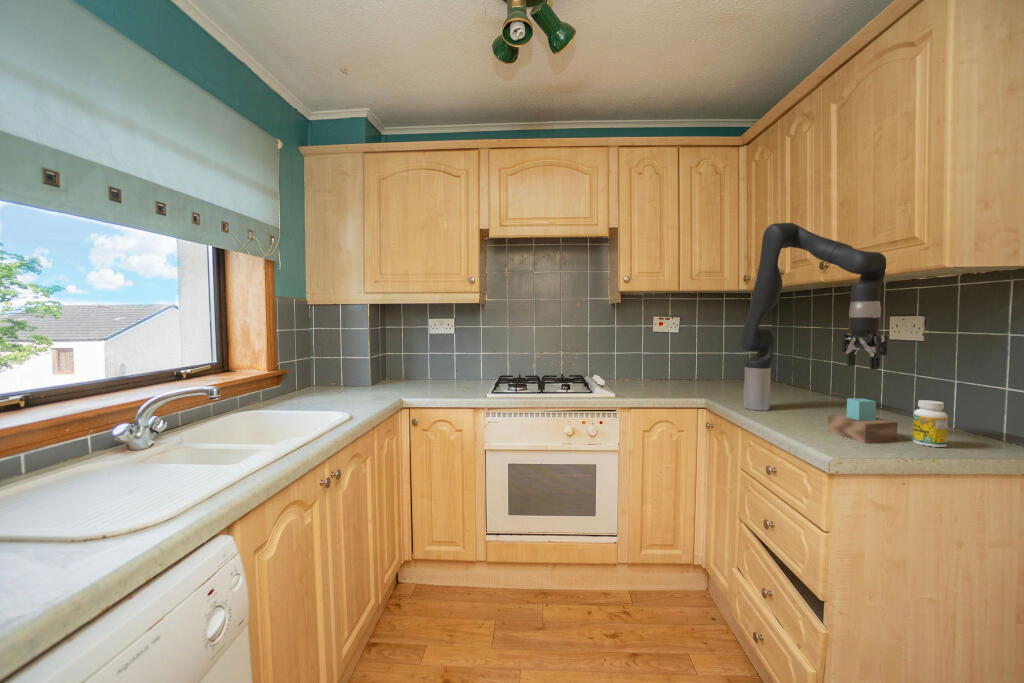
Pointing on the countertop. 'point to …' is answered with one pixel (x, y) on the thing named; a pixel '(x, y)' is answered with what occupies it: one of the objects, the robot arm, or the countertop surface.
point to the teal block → (861, 409)
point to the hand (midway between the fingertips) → (862, 367)
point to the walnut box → (863, 429)
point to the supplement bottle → (930, 424)
